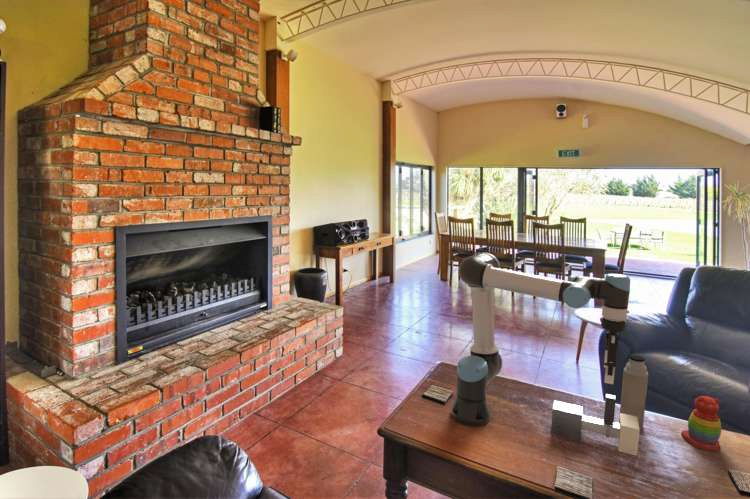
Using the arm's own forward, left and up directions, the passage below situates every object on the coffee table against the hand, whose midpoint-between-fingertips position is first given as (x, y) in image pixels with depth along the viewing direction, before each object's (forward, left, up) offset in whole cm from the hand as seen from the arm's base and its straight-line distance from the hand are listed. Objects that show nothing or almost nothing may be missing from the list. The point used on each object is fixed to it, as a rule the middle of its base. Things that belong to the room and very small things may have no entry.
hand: (608, 375), depth 148 cm
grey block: (-12, -1, -25) cm, 28 cm away
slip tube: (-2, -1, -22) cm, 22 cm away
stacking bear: (+32, +14, -25) cm, 43 cm away
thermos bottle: (+10, +15, -25) cm, 31 cm away
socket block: (+8, -1, -25) cm, 26 cm away
